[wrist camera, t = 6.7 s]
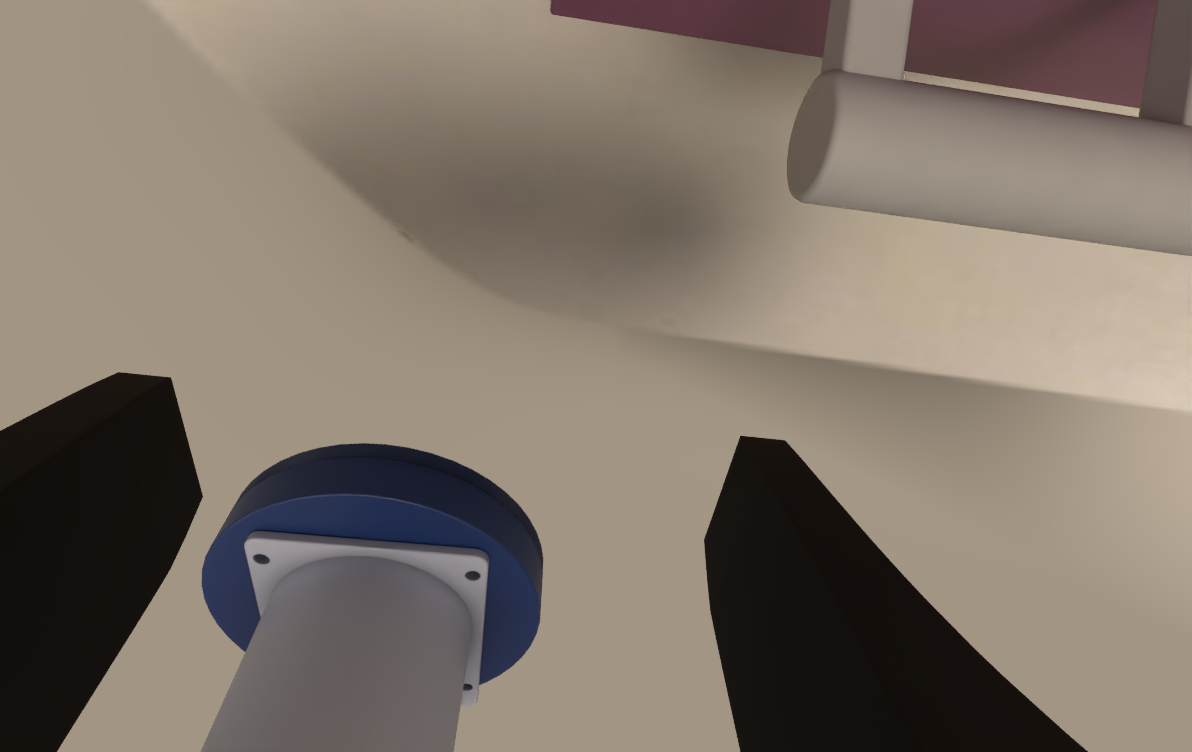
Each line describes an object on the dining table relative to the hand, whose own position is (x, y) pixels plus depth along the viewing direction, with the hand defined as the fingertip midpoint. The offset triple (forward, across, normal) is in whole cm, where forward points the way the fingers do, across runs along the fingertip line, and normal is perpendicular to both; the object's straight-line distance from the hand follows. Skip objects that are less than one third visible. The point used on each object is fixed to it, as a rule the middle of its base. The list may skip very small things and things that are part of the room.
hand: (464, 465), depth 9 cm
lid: (+1, -6, -9) cm, 11 cm away
